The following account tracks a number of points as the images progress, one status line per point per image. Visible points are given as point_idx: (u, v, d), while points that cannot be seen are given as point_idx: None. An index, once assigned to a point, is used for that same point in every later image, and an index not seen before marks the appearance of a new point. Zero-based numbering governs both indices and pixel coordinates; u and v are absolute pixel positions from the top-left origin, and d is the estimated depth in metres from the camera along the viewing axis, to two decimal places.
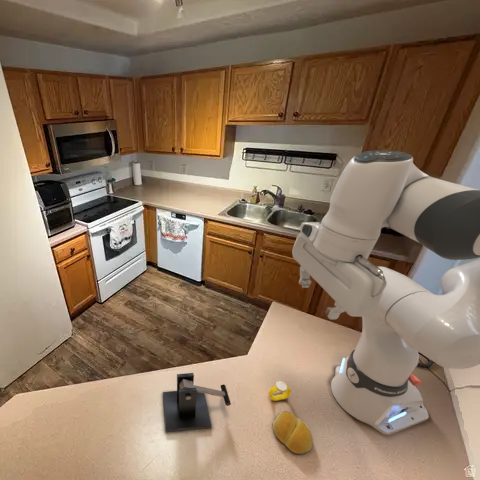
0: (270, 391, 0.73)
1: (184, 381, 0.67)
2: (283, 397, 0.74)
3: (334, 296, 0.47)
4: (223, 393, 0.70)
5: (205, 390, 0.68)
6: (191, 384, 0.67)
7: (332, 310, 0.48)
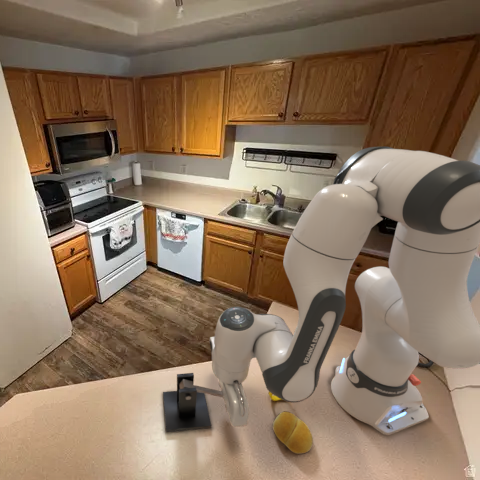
0: None
1: (184, 381, 0.67)
2: None
3: (225, 405, 0.63)
4: None
5: (205, 390, 0.68)
6: (191, 384, 0.67)
7: None
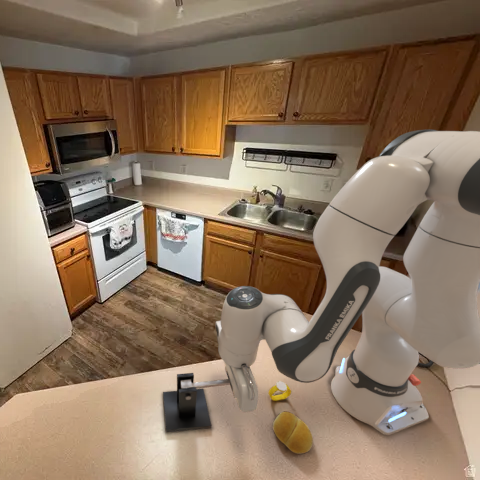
0: (270, 391, 0.73)
1: (182, 382, 0.67)
2: (283, 397, 0.74)
3: (233, 390, 0.61)
4: (228, 381, 0.67)
5: (207, 384, 0.67)
6: (189, 383, 0.66)
7: (234, 392, 0.63)
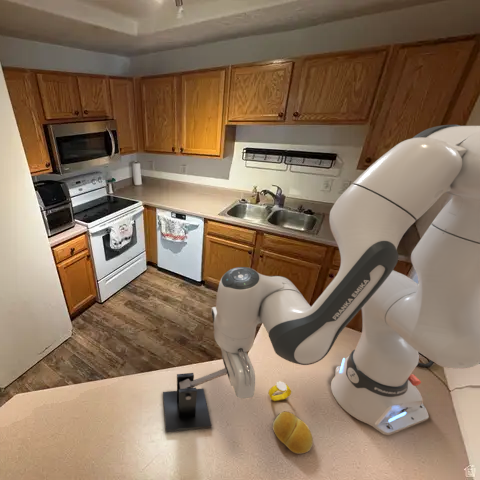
0: (270, 391, 0.73)
1: (180, 383, 0.67)
2: (283, 397, 0.74)
3: (230, 377, 0.58)
4: (224, 370, 0.65)
5: (204, 379, 0.66)
6: (187, 383, 0.66)
7: (231, 380, 0.61)
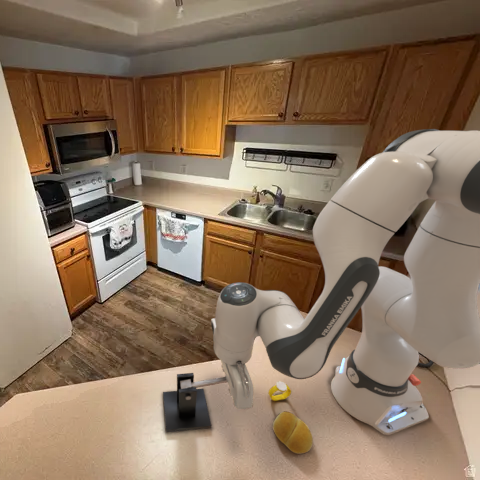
0: (270, 391, 0.73)
1: (181, 382, 0.67)
2: (283, 397, 0.74)
3: (229, 388, 0.60)
4: None
5: (206, 383, 0.66)
6: (189, 383, 0.66)
7: None
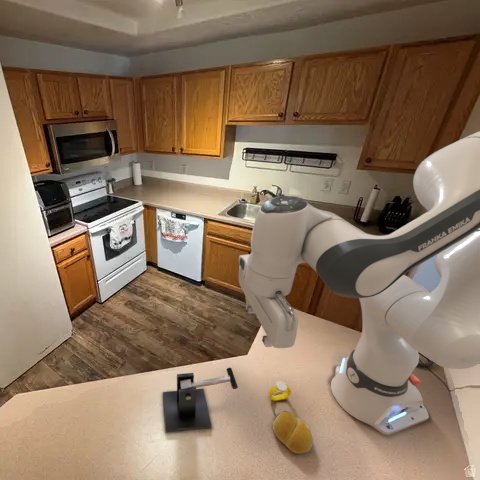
0: (270, 391, 0.73)
1: (181, 382, 0.67)
2: (283, 397, 0.74)
3: (263, 327, 0.51)
4: (228, 377, 0.66)
5: (206, 382, 0.66)
6: (189, 383, 0.66)
7: (265, 339, 0.52)
